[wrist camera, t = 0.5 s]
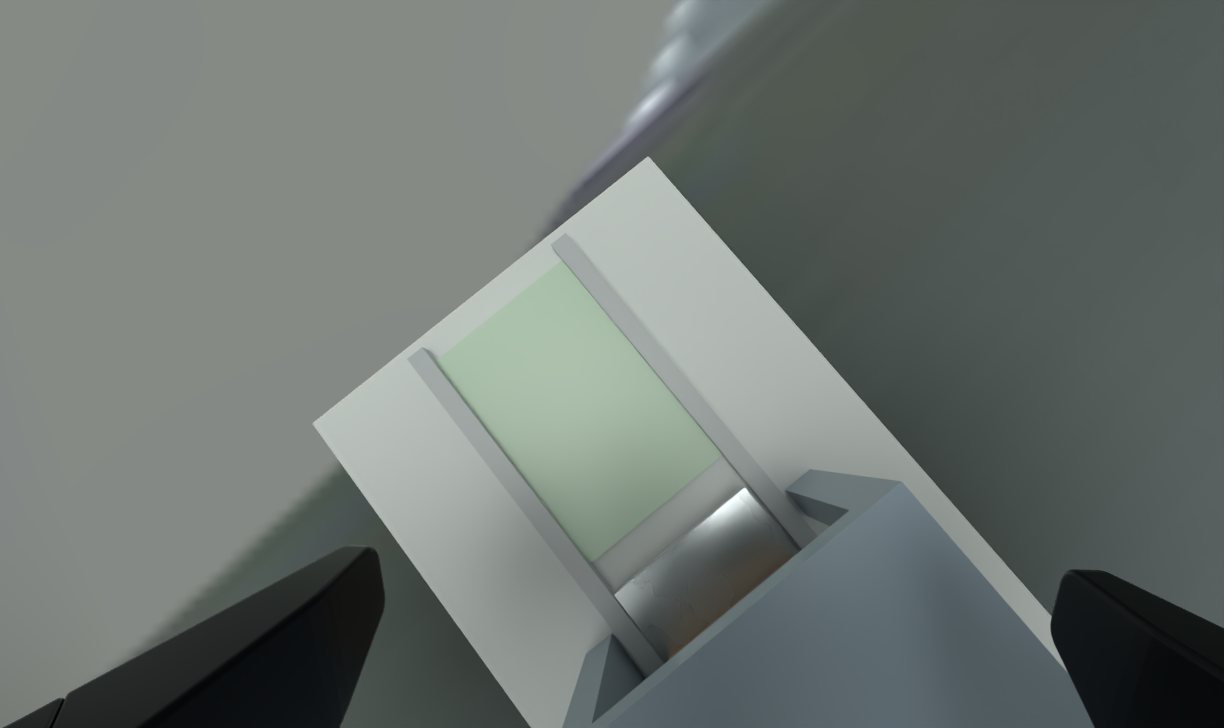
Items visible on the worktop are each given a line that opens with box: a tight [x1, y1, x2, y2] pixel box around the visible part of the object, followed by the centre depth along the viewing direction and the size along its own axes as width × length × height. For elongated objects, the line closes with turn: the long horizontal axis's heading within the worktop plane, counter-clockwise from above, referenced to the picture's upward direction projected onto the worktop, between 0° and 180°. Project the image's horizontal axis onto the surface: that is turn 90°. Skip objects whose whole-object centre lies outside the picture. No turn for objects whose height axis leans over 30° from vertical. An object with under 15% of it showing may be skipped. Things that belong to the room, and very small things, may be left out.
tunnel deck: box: [313, 157, 1094, 728], centre depth 17 cm, size 25×14×10 cm, turn 39°
